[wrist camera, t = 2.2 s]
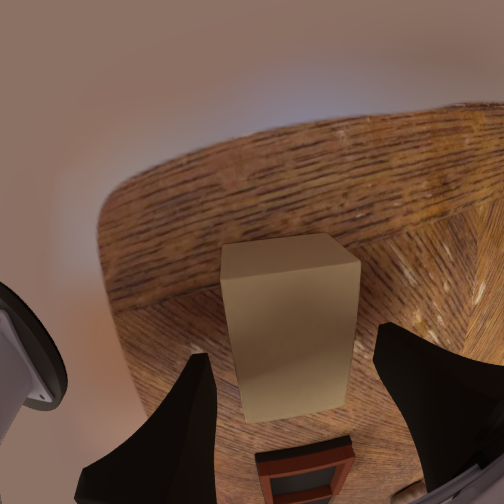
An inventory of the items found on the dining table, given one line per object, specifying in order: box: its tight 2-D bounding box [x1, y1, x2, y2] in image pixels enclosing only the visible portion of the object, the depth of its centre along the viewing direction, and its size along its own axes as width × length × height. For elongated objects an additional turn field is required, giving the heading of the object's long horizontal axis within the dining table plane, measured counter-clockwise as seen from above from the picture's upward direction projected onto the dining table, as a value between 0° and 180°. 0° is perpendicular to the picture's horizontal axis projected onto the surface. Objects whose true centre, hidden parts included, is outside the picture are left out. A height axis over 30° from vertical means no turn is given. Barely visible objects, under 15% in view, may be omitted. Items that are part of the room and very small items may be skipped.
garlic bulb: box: [390, 482, 426, 504], centre depth 28 cm, size 8×7×8 cm
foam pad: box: [220, 233, 361, 424], centre depth 13 cm, size 5×8×4 cm, turn 6°
